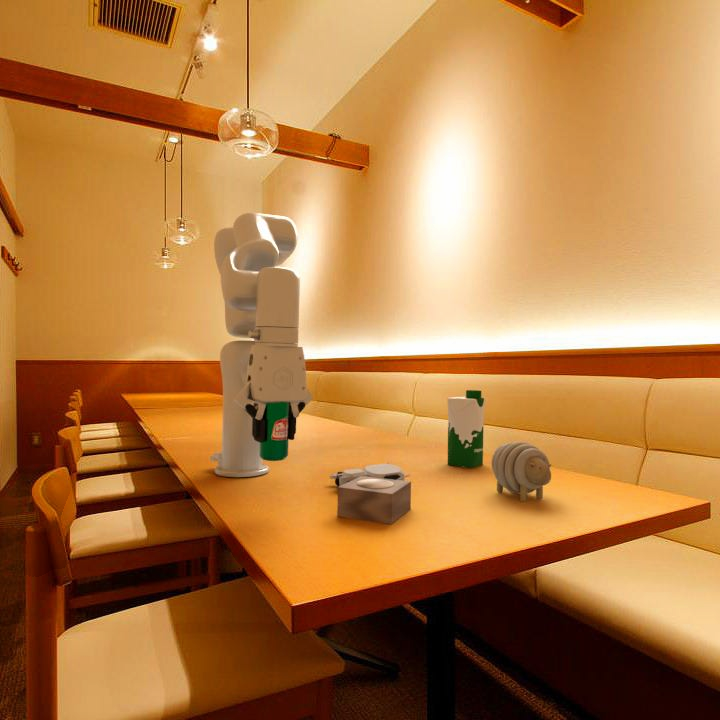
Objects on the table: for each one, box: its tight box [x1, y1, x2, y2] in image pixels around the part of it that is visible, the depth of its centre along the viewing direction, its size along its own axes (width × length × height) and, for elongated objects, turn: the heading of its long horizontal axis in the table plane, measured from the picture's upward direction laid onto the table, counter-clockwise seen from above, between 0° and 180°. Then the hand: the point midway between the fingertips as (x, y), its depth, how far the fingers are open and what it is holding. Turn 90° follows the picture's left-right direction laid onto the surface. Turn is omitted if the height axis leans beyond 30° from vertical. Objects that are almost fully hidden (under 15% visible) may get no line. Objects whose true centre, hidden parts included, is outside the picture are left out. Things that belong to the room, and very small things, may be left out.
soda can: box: [259, 402, 290, 462], centre depth 90 cm, size 5×5×12 cm
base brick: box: [336, 476, 412, 525], centre depth 90 cm, size 10×10×5 cm
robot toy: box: [329, 463, 411, 487], centre depth 107 cm, size 12×4×15 cm
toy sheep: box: [491, 441, 552, 503], centre depth 104 cm, size 11×17×11 cm, turn 25°
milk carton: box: [446, 389, 486, 469], centre depth 135 cm, size 9×9×20 cm
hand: (274, 438), depth 90 cm, fingers closed on soda can, 5 cm apart
